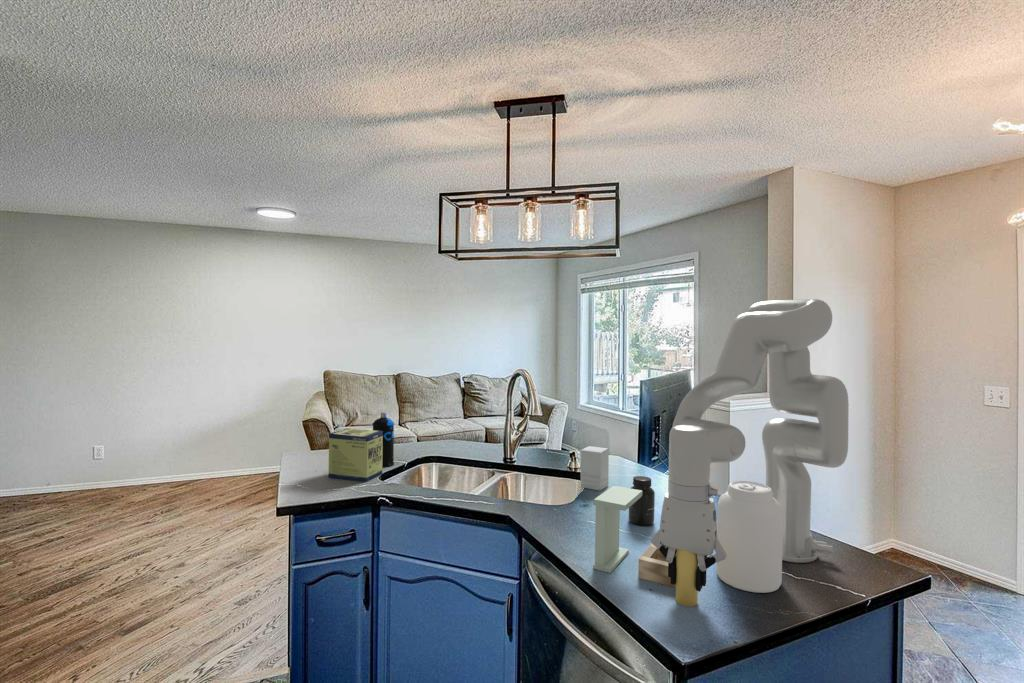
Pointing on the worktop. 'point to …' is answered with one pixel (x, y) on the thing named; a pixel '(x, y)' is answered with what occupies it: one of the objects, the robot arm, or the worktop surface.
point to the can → (750, 537)
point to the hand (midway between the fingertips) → (686, 584)
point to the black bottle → (386, 438)
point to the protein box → (355, 454)
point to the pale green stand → (611, 526)
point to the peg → (686, 578)
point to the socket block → (654, 566)
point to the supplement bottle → (643, 502)
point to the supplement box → (594, 467)
